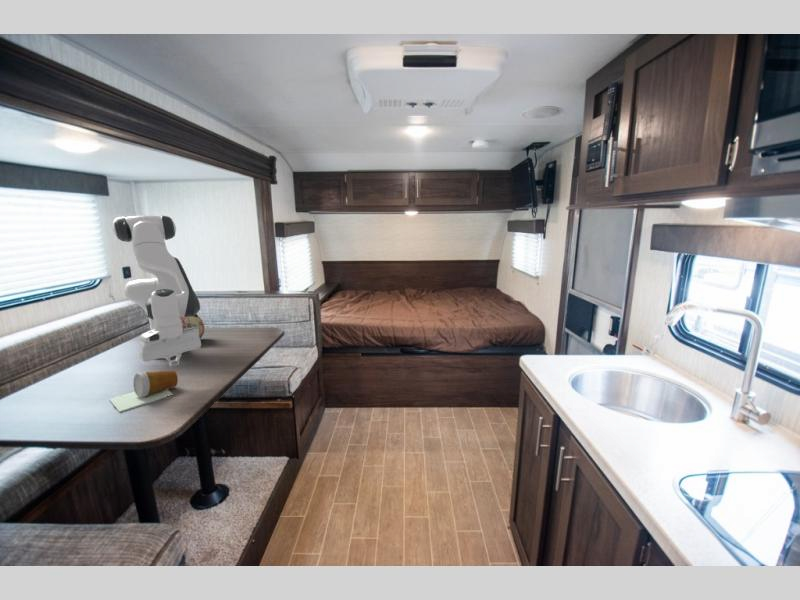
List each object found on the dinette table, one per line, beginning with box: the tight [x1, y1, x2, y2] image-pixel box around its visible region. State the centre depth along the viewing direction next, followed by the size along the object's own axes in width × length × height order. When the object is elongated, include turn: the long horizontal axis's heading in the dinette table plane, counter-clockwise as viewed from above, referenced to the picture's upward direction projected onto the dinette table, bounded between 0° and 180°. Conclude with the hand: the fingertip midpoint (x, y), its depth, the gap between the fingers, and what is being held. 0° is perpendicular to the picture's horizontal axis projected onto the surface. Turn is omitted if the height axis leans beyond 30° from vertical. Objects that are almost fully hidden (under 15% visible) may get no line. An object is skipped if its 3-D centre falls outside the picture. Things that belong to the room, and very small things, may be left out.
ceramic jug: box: [180, 313, 205, 342], centre depth 184 cm, size 17×15×30 cm
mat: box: [108, 389, 174, 414], centre depth 125 cm, size 14×16×1 cm
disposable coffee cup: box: [133, 370, 179, 397], centre depth 128 cm, size 10×10×12 cm
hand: (174, 364), depth 133 cm, fingers closed
